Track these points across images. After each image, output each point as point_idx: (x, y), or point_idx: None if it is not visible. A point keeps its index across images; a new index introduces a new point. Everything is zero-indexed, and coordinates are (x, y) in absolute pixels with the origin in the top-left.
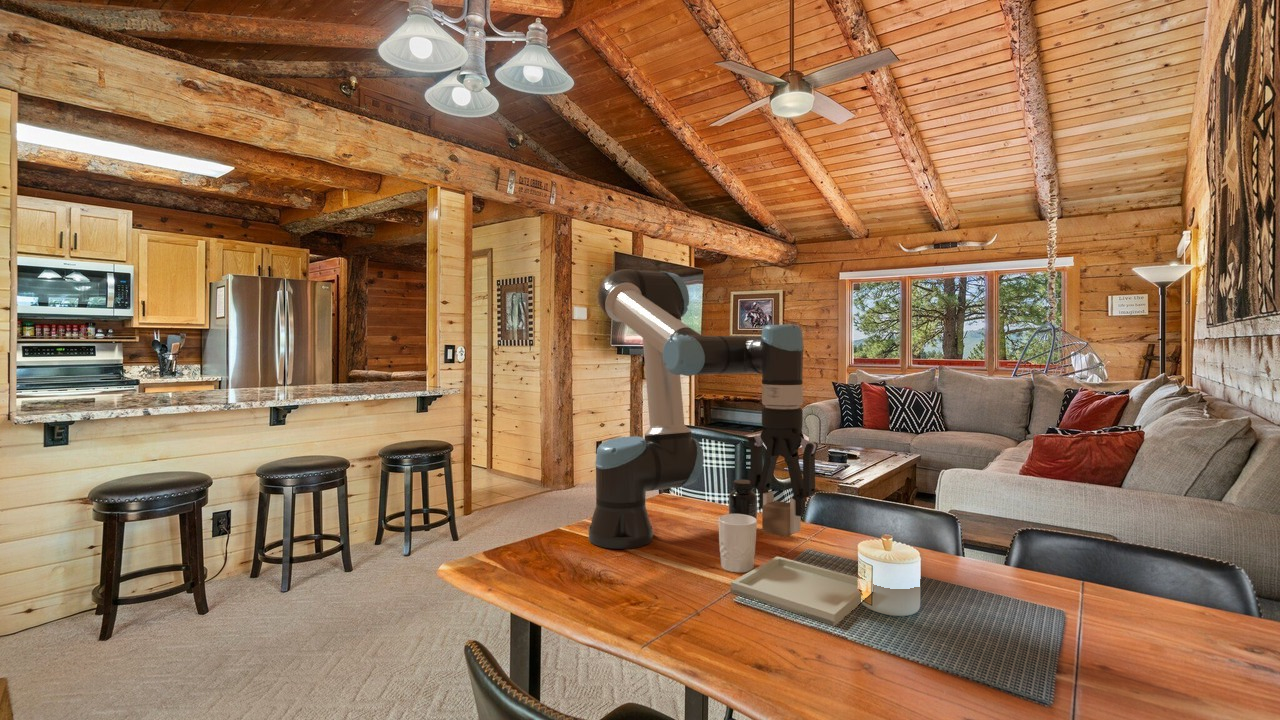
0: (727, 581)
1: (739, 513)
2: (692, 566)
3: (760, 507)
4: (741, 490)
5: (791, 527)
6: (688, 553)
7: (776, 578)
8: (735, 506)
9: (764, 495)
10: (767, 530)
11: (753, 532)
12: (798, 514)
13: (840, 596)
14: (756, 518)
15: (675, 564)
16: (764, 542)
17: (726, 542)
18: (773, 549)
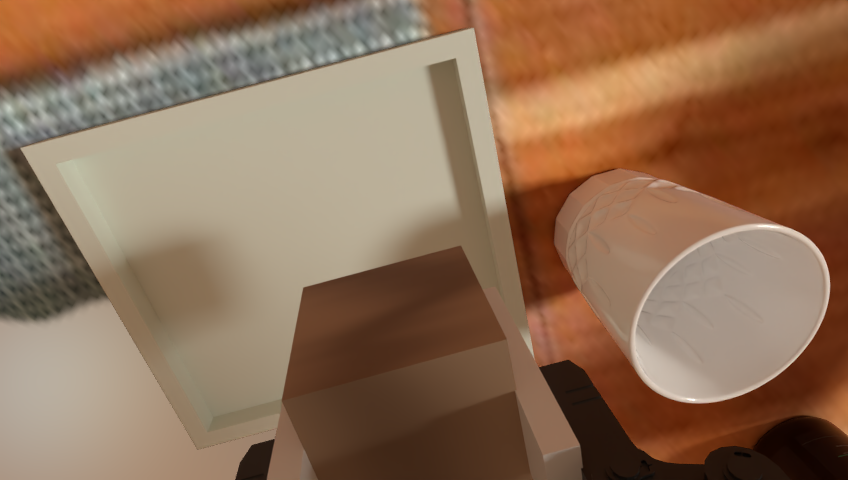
0: (546, 100)
1: (840, 478)
2: (732, 87)
3: (569, 364)
4: None
5: None
6: (819, 164)
7: (431, 246)
8: None
9: (557, 436)
10: (429, 261)
11: (608, 317)
12: (263, 448)
13: (201, 312)
14: None
15: (796, 41)
16: (675, 433)
17: (673, 195)
18: (619, 417)
